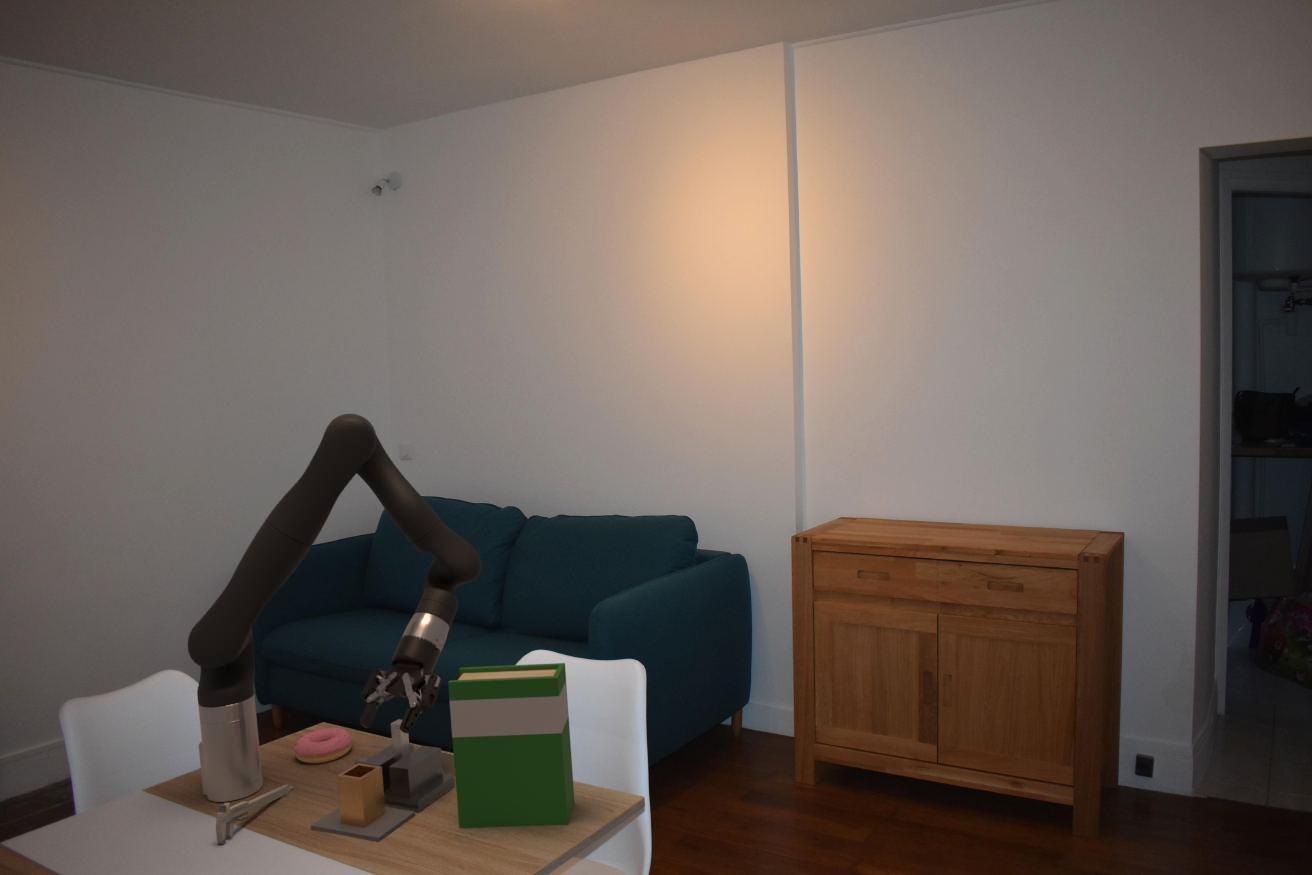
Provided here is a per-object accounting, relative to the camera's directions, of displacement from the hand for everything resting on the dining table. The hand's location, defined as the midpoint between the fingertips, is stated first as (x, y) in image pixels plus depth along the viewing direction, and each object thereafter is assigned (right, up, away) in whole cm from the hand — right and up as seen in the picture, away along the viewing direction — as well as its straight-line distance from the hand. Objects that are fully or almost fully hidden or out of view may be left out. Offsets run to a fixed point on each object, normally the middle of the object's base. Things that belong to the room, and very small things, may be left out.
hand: (383, 728), depth 155 cm
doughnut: (-19, -13, +25) cm, 34 cm away
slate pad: (-2, -14, -5) cm, 15 cm away
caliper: (-22, -15, 0) cm, 26 cm away
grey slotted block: (+1, -13, +5) cm, 14 cm away
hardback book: (+24, -12, -6) cm, 28 cm away
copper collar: (-2, -13, -5) cm, 14 cm away
